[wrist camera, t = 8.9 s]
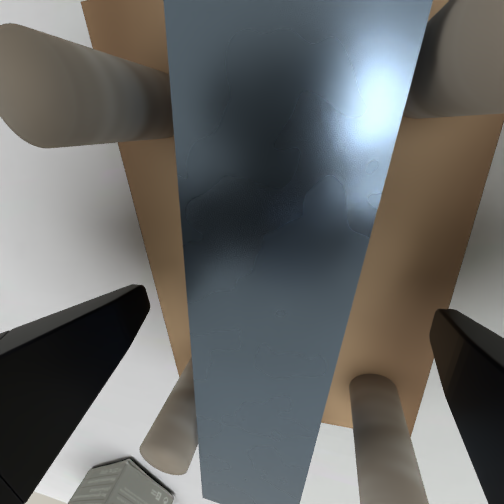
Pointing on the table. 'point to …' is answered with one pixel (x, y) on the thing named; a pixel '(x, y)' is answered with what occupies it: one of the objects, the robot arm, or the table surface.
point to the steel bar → (278, 211)
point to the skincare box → (120, 486)
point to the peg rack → (382, 236)
